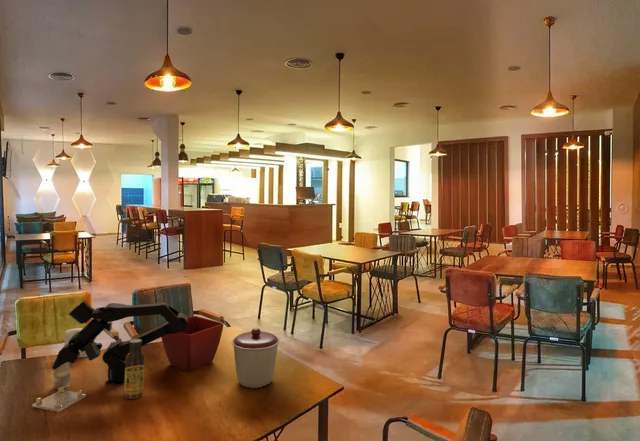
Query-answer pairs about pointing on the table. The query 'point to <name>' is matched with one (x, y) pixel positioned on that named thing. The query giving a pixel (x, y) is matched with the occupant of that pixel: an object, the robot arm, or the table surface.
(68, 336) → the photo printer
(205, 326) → the plant pot
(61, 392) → the base plate
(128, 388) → the sauce bottle
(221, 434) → the table surface
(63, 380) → the maple peg
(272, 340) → the canister
